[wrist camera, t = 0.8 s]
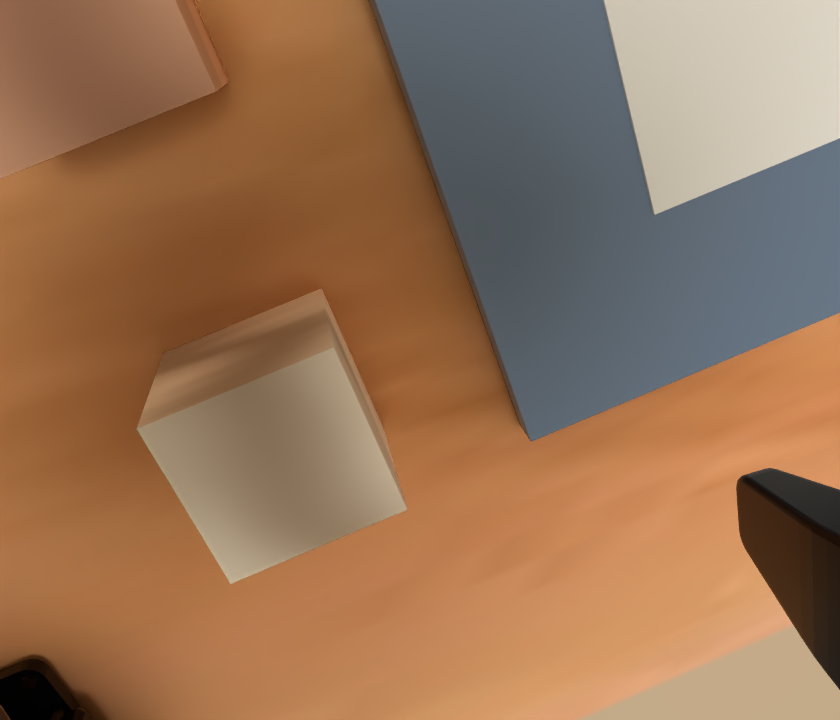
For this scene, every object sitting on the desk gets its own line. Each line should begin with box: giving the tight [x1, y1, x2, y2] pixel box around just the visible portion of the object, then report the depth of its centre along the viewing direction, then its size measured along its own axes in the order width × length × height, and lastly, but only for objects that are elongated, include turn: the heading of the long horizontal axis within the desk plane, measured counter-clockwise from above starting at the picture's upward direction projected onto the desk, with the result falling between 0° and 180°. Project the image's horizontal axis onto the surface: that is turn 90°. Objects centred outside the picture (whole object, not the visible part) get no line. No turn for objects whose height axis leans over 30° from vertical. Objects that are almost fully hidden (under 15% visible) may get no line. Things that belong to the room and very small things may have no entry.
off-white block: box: [137, 288, 407, 584], centre depth 19 cm, size 4×4×4 cm
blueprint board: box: [369, 0, 840, 441], centre depth 19 cm, size 16×16×1 cm
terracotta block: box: [0, 0, 229, 179], centre depth 15 cm, size 4×4×4 cm
